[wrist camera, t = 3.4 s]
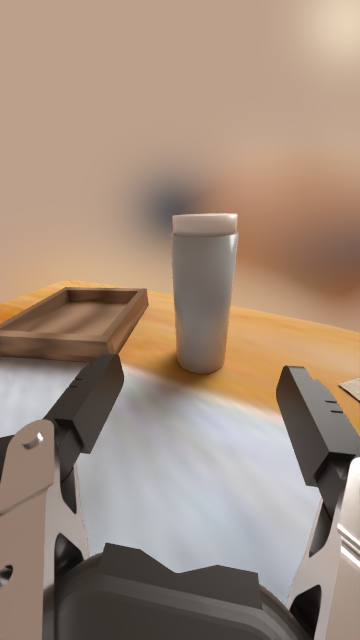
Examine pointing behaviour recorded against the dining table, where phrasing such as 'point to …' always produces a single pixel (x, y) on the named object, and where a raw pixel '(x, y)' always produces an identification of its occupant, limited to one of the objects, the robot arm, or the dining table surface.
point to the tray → (74, 324)
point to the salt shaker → (203, 287)
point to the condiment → (352, 387)
